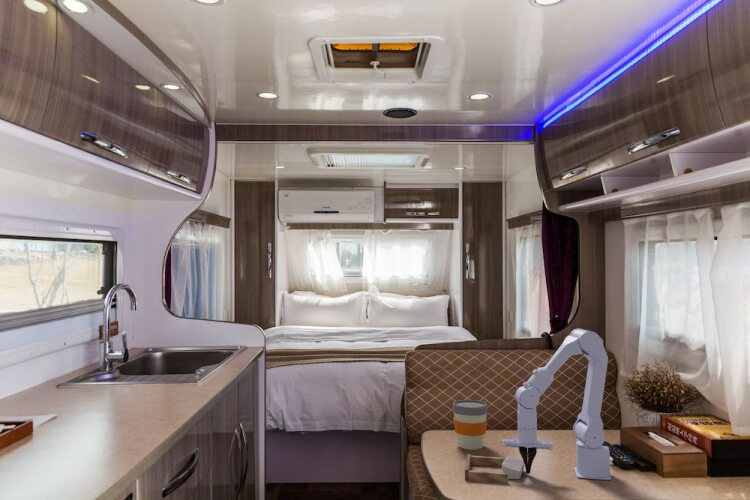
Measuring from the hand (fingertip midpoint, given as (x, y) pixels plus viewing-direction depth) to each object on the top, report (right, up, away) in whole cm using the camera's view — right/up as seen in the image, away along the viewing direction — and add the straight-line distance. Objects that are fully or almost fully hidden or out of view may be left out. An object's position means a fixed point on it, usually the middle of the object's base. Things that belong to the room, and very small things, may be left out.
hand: (528, 472), depth 169 cm
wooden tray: (-11, -1, +2) cm, 12 cm away
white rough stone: (-4, -1, +1) cm, 5 cm away
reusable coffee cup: (-12, -3, +30) cm, 32 cm away
